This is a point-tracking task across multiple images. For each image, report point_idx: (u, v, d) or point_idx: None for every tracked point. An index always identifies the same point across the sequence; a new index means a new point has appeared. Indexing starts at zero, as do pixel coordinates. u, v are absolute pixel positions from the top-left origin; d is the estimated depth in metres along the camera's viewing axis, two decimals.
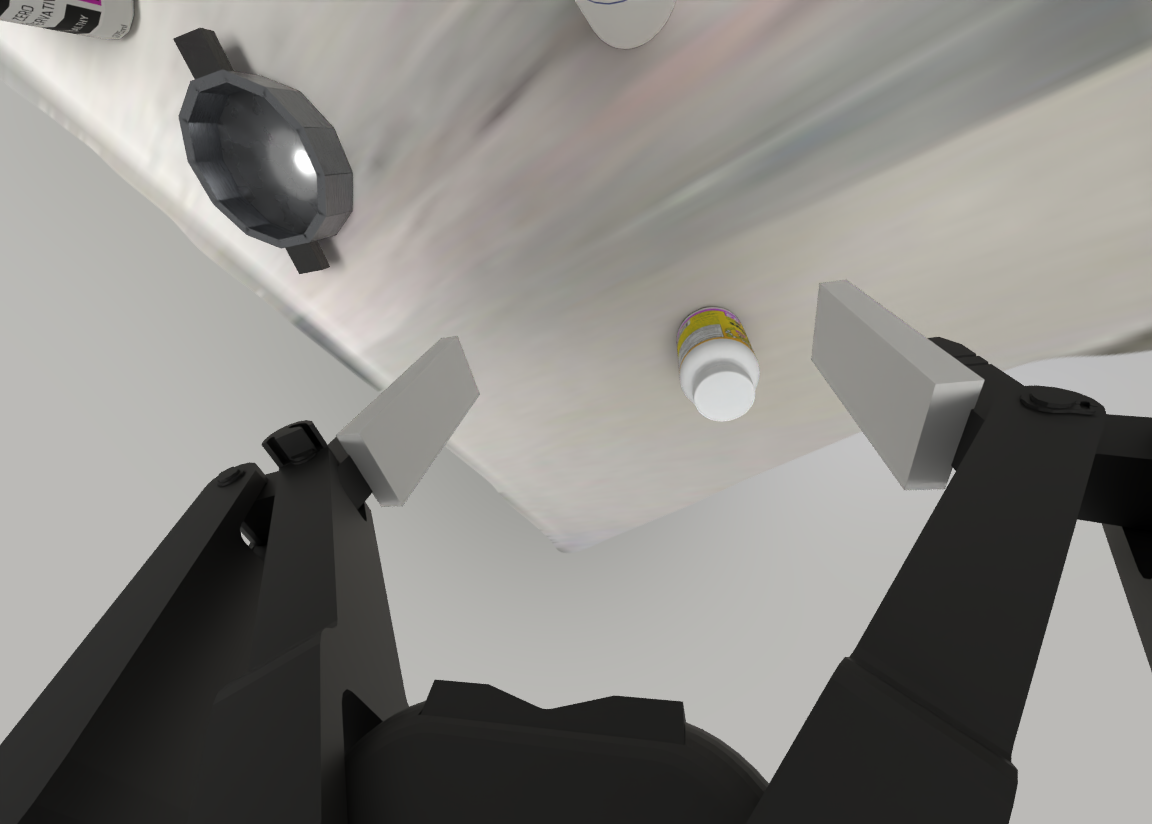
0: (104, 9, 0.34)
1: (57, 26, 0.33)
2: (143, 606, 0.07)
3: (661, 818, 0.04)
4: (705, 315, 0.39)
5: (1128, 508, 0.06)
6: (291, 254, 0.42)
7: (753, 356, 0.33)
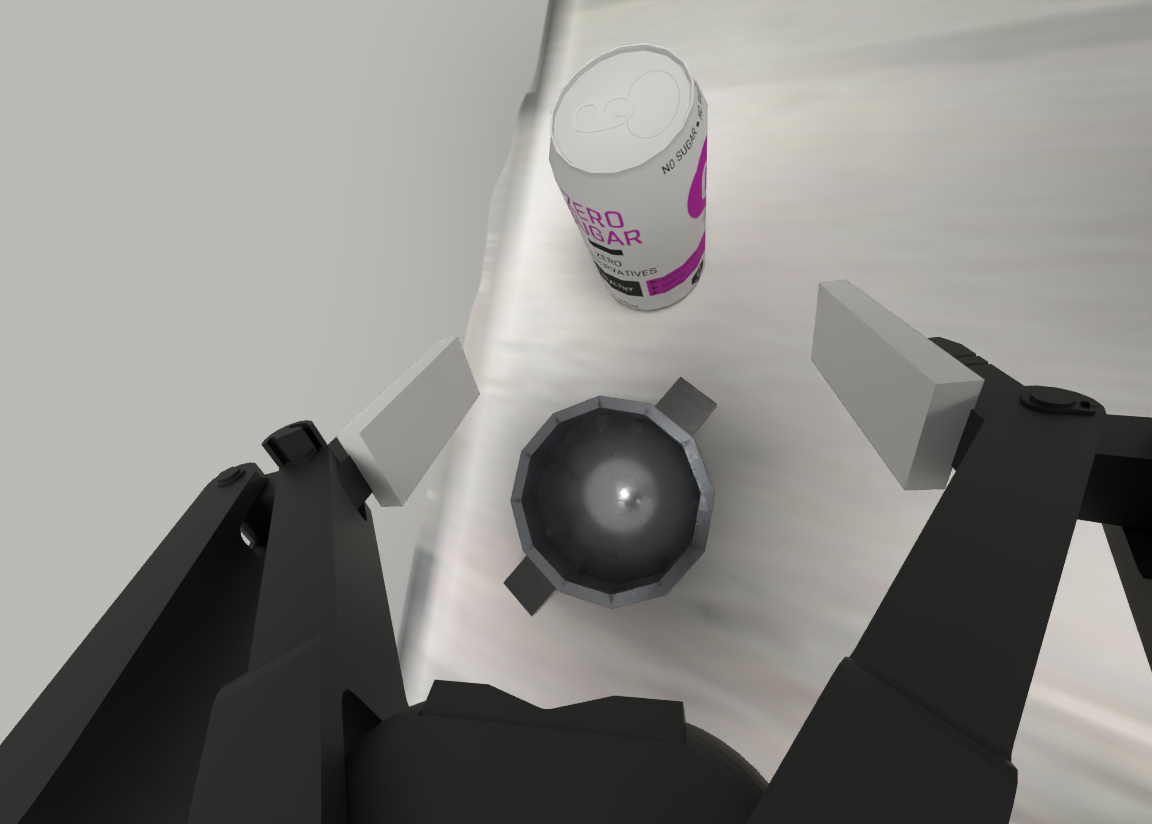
0: (648, 298, 0.30)
1: (606, 273, 0.29)
2: (143, 606, 0.07)
3: (660, 818, 0.04)
4: None
5: (1127, 508, 0.07)
6: (523, 565, 0.28)
7: None
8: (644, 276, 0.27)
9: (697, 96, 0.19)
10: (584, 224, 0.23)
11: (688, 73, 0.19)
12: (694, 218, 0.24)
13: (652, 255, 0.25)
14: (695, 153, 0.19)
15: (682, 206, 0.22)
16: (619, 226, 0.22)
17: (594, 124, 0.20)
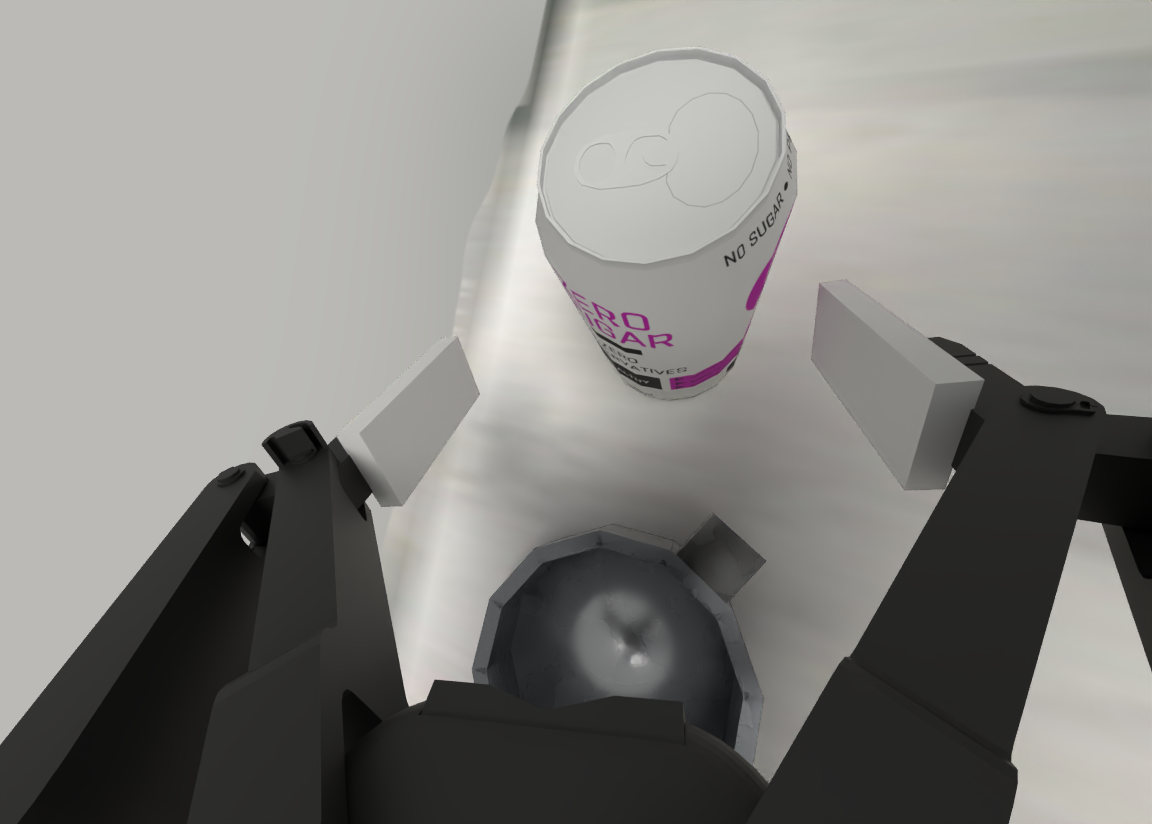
0: (668, 391, 0.22)
1: (614, 362, 0.21)
2: (143, 606, 0.07)
3: (660, 818, 0.04)
4: None
5: (1128, 508, 0.06)
6: None
7: None
8: (668, 375, 0.19)
9: (787, 139, 0.11)
10: (587, 315, 0.15)
11: (775, 101, 0.11)
12: (750, 310, 0.16)
13: (685, 357, 0.17)
14: (778, 232, 0.12)
15: (741, 302, 0.14)
16: (642, 329, 0.14)
17: (610, 176, 0.12)
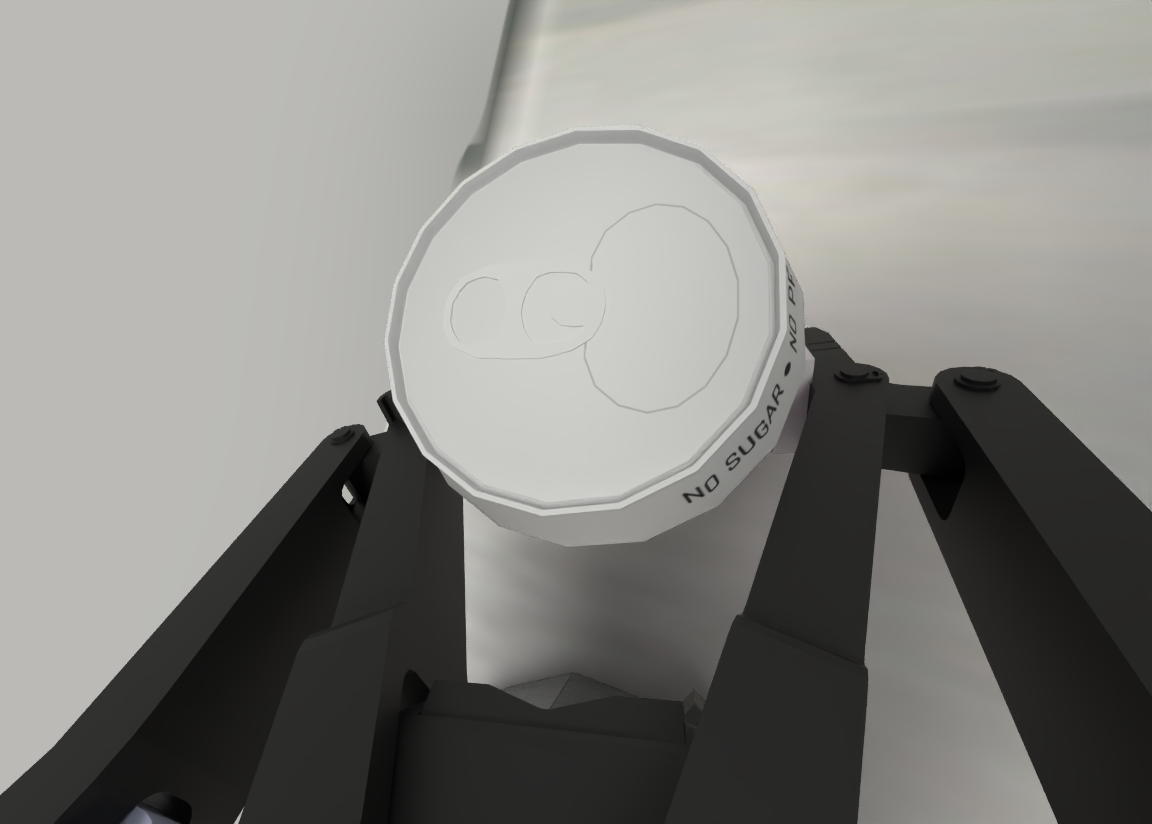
0: None
1: None
2: (252, 554, 0.08)
3: (660, 818, 0.04)
4: None
5: (910, 457, 0.08)
6: None
7: None
8: None
9: (788, 287, 0.07)
10: None
11: (766, 229, 0.06)
12: None
13: None
14: (776, 437, 0.07)
15: None
16: None
17: (497, 335, 0.07)
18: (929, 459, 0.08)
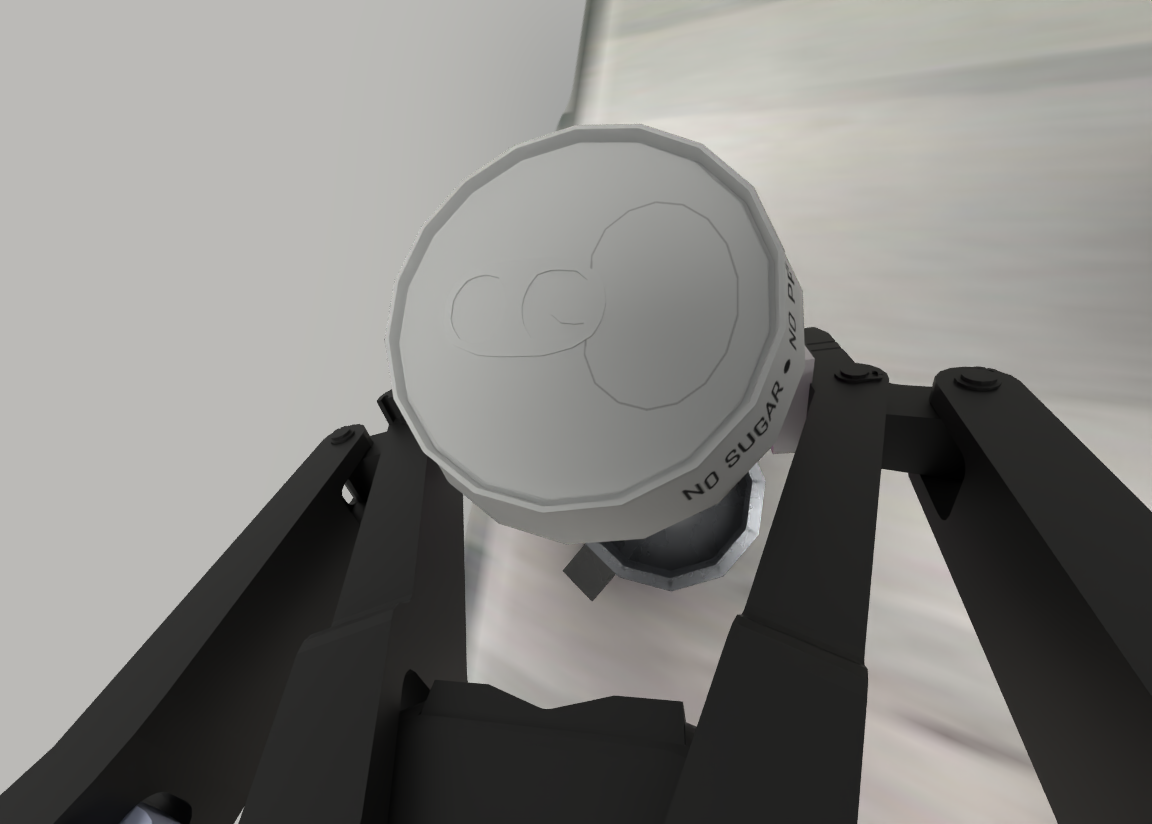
0: None
1: None
2: (252, 554, 0.08)
3: (661, 818, 0.04)
4: None
5: (910, 457, 0.08)
6: (582, 553, 0.30)
7: None
8: None
9: (787, 285, 0.07)
10: None
11: (766, 227, 0.06)
12: None
13: None
14: (776, 434, 0.07)
15: None
16: None
17: (497, 334, 0.07)
18: (928, 459, 0.08)
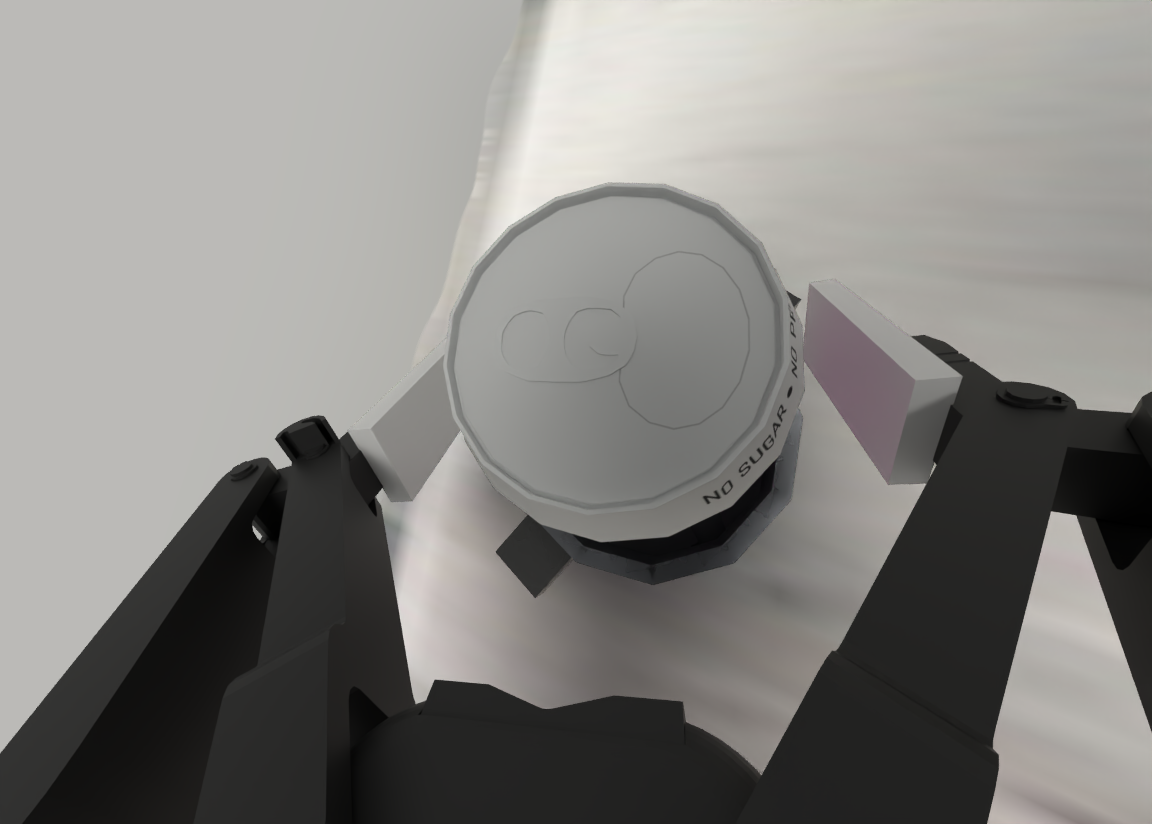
0: None
1: None
2: (156, 599, 0.07)
3: (661, 819, 0.04)
4: None
5: (1098, 500, 0.07)
6: (524, 526, 0.20)
7: None
8: None
9: (789, 324, 0.08)
10: None
11: (772, 277, 0.07)
12: None
13: None
14: (780, 448, 0.08)
15: None
16: None
17: (542, 362, 0.08)
18: (1127, 503, 0.07)
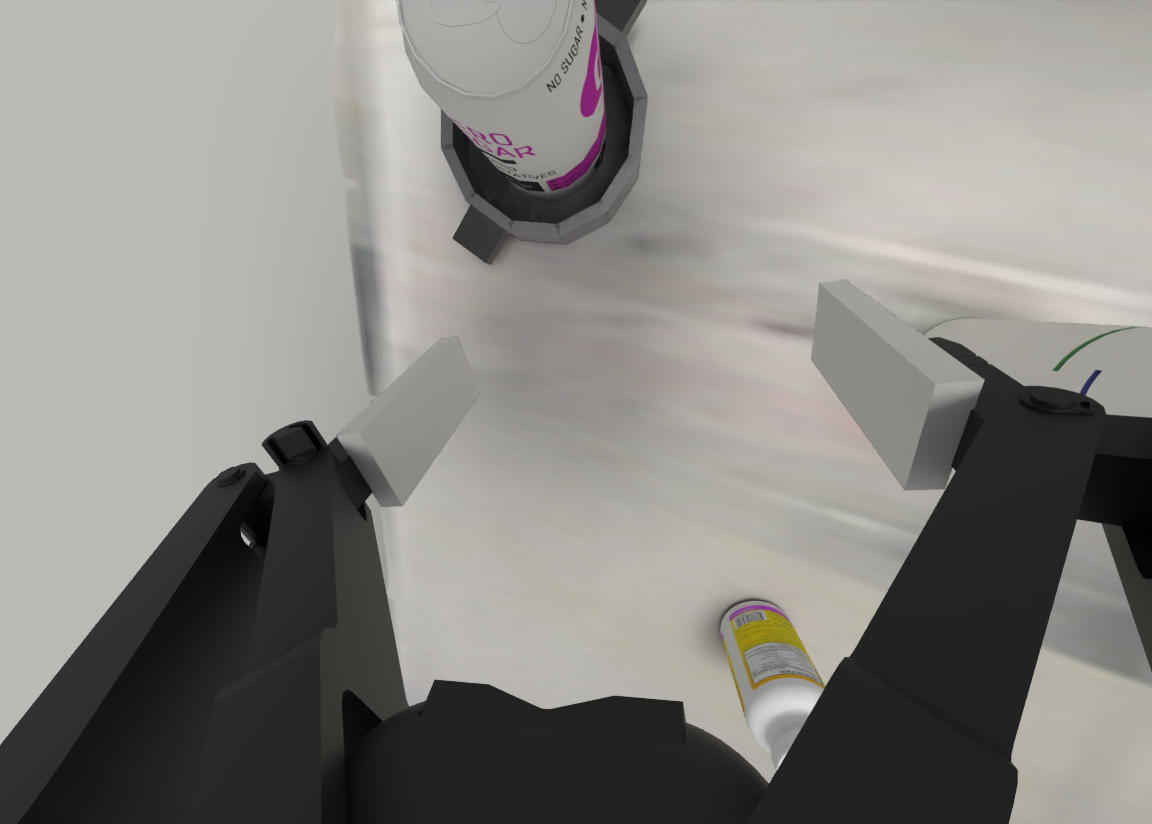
0: (550, 193, 0.28)
1: (501, 171, 0.26)
2: (143, 606, 0.07)
3: (660, 818, 0.04)
4: (785, 624, 0.36)
5: (1128, 508, 0.06)
6: (468, 215, 0.29)
7: None
8: (543, 178, 0.25)
9: None
10: (466, 135, 0.20)
11: None
12: (590, 116, 0.21)
13: (549, 162, 0.22)
14: (583, 58, 0.17)
15: (575, 113, 0.19)
16: (508, 144, 0.19)
17: (456, 12, 0.16)
18: None
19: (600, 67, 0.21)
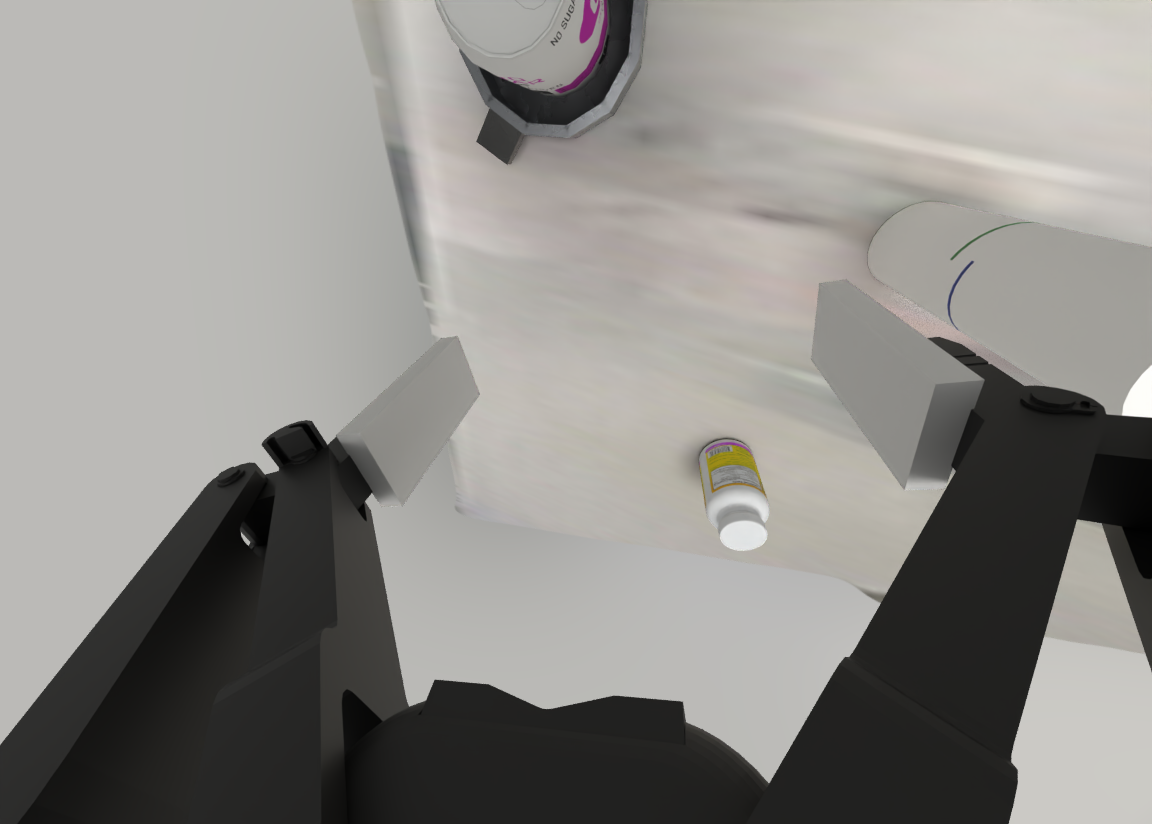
0: (559, 94, 0.31)
1: None
2: (143, 606, 0.07)
3: (661, 818, 0.04)
4: (745, 454, 0.48)
5: (1128, 508, 0.06)
6: (489, 119, 0.33)
7: (768, 515, 0.44)
8: (552, 89, 0.29)
9: None
10: None
11: None
12: (589, 38, 0.25)
13: (556, 81, 0.27)
14: (579, 11, 0.21)
15: (575, 47, 0.23)
16: (522, 80, 0.24)
17: None
18: None
19: None
